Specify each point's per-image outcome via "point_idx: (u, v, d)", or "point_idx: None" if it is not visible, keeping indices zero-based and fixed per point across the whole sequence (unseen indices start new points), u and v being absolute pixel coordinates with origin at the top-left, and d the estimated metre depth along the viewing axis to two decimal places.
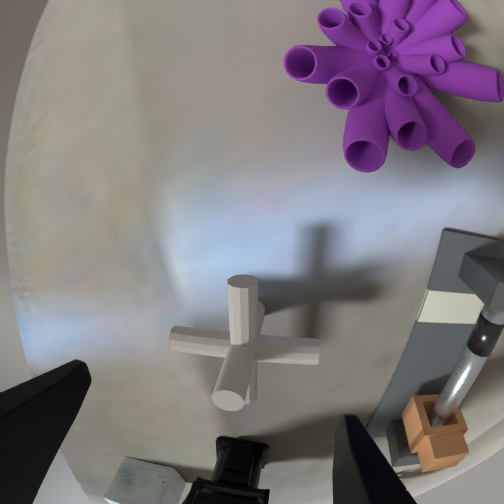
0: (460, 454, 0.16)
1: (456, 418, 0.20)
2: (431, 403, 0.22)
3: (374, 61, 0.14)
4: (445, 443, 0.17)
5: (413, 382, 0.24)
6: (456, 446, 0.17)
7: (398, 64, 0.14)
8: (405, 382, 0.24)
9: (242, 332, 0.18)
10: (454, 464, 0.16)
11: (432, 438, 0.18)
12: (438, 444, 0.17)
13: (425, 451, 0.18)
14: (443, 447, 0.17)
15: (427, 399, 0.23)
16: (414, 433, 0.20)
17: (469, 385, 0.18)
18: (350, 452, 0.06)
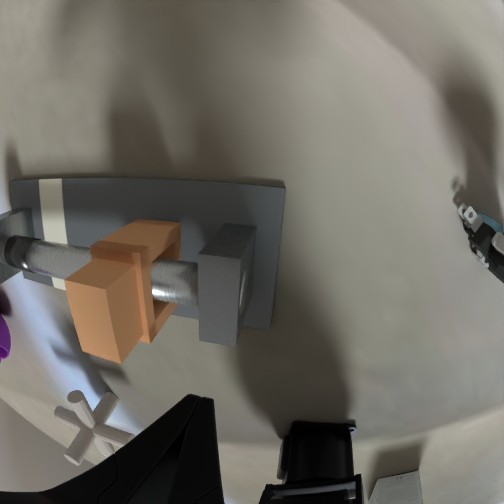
0: (70, 298, 0.11)
1: None
2: None
3: None
4: None
5: None
6: None
7: None
8: None
9: (74, 426, 0.23)
10: (99, 297, 0.11)
11: None
12: None
13: None
14: None
15: None
16: None
17: (53, 265, 0.16)
18: (185, 432, 0.07)
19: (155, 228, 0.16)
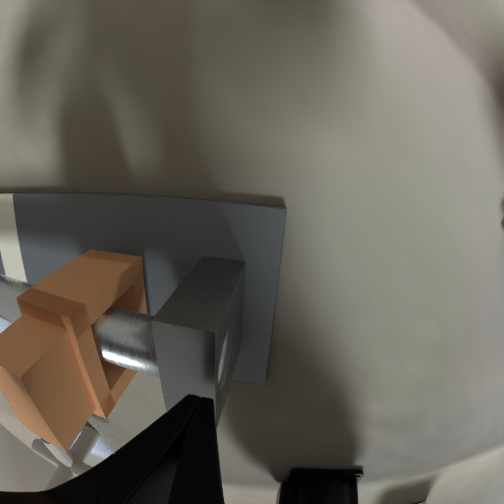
0: None
1: None
2: None
3: None
4: None
5: None
6: None
7: None
8: None
9: (52, 462, 0.18)
10: (18, 384, 0.06)
11: None
12: None
13: None
14: None
15: None
16: None
17: None
18: (185, 432, 0.07)
19: (105, 267, 0.11)
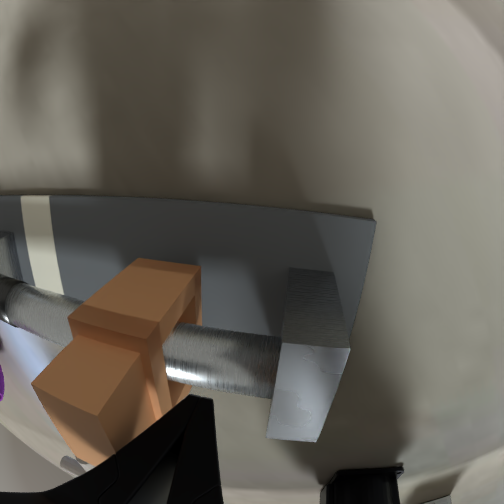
0: (46, 407, 0.06)
1: None
2: None
3: None
4: None
5: None
6: None
7: None
8: None
9: None
10: (89, 421, 0.06)
11: None
12: None
13: None
14: None
15: None
16: None
17: (42, 327, 0.11)
18: (185, 432, 0.07)
19: (165, 278, 0.11)
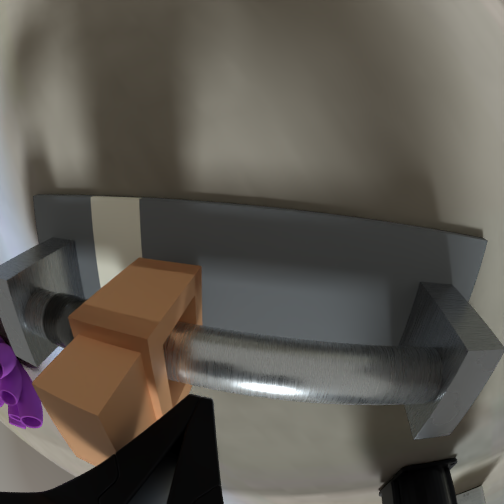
0: (47, 406, 0.06)
1: None
2: None
3: None
4: None
5: None
6: None
7: None
8: None
9: None
10: (90, 421, 0.06)
11: None
12: None
13: None
14: None
15: None
16: None
17: None
18: (185, 432, 0.07)
19: (166, 278, 0.11)
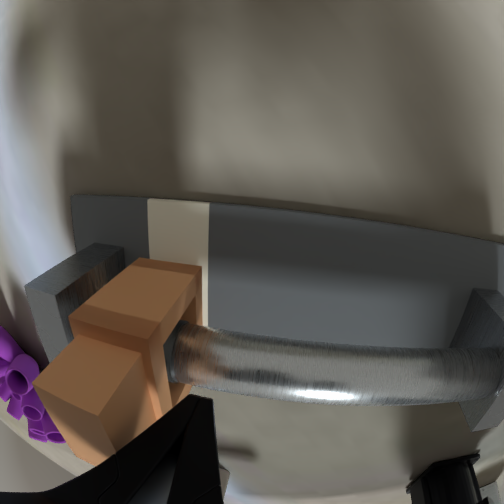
0: (47, 406, 0.06)
1: None
2: None
3: None
4: None
5: None
6: None
7: None
8: None
9: None
10: (90, 421, 0.06)
11: None
12: None
13: None
14: None
15: None
16: None
17: (259, 384, 0.09)
18: (185, 432, 0.07)
19: (166, 278, 0.11)
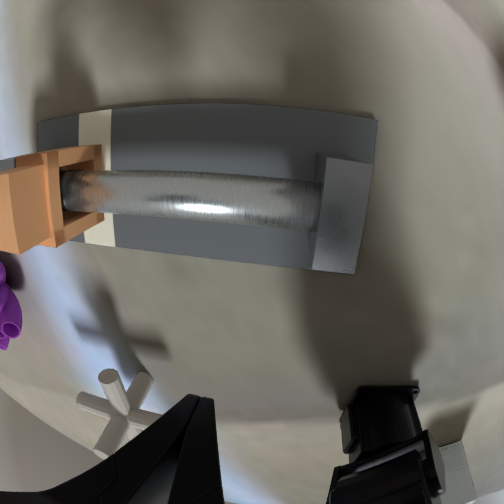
0: None
1: None
2: None
3: None
4: None
5: (208, 222, 0.19)
6: None
7: None
8: (209, 235, 0.19)
9: (102, 415, 0.21)
10: (4, 183, 0.10)
11: None
12: None
13: None
14: None
15: None
16: None
17: (108, 192, 0.14)
18: (186, 432, 0.07)
19: None
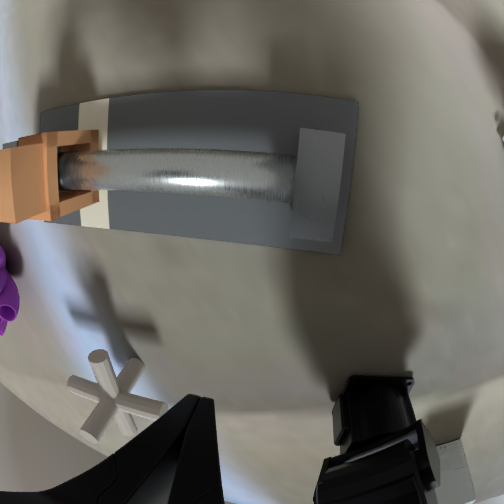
0: None
1: None
2: None
3: None
4: None
5: (196, 202, 0.19)
6: None
7: None
8: (197, 215, 0.20)
9: (92, 398, 0.21)
10: (6, 157, 0.11)
11: None
12: None
13: None
14: None
15: None
16: None
17: (101, 169, 0.14)
18: (186, 432, 0.07)
19: None
